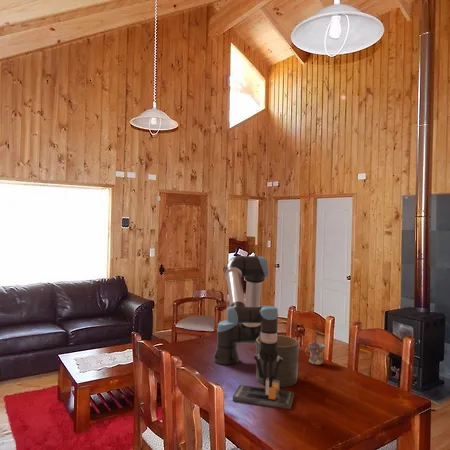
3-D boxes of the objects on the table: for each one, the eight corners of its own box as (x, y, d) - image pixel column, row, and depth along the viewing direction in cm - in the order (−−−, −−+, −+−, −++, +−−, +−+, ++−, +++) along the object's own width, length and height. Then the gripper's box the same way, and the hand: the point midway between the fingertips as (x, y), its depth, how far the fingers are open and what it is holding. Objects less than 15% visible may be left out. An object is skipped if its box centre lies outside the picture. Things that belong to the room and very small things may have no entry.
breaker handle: (268, 398, 176) (268, 387, 176) (269, 396, 179) (269, 385, 179) (275, 399, 175) (275, 388, 176) (276, 396, 178) (276, 385, 178)
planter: (302, 376, 211) (303, 338, 211) (291, 391, 191) (292, 349, 191) (263, 368, 221) (264, 332, 221) (249, 382, 200) (249, 342, 201)
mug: (318, 359, 238) (319, 342, 238) (327, 365, 229) (327, 346, 230) (301, 361, 234) (301, 343, 235) (309, 366, 226) (309, 348, 226)
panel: (232, 400, 179) (233, 385, 179) (239, 388, 192) (240, 374, 192) (290, 409, 172) (290, 393, 172) (293, 396, 185) (293, 381, 185)
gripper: (253, 342, 176) (251, 394, 176) (282, 345, 173) (280, 399, 173) (256, 337, 184) (255, 388, 183) (284, 340, 180) (283, 392, 180)
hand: (267, 393), depth 178 cm, fingers closed
